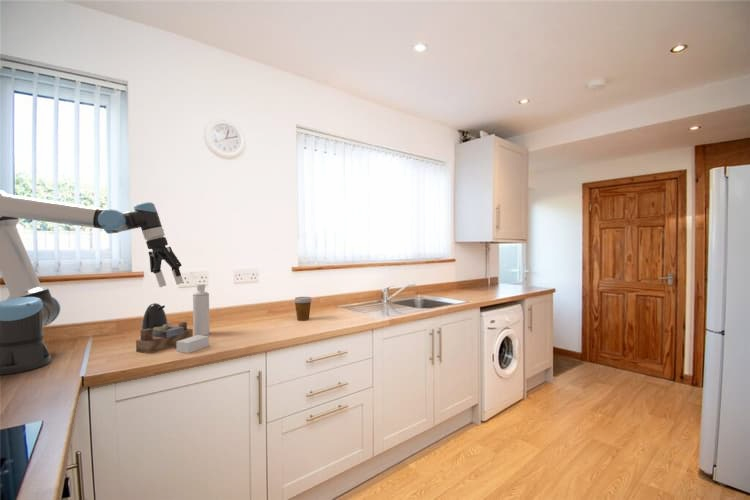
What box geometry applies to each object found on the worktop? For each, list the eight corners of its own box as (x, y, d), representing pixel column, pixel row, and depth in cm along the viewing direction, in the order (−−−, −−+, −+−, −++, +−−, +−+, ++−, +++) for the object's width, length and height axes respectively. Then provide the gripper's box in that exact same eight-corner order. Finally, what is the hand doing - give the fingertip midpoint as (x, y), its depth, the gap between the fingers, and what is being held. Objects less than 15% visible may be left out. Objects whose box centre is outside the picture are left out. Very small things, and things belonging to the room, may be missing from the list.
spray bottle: (191, 334, 158) (190, 280, 158) (206, 331, 163) (205, 279, 163) (196, 336, 154) (195, 281, 153) (212, 333, 159) (211, 280, 158)
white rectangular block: (188, 353, 131) (187, 342, 130) (176, 351, 133) (176, 341, 133) (208, 345, 140) (208, 336, 140) (197, 344, 142) (197, 334, 142)
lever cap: (166, 338, 136) (166, 328, 136) (147, 335, 140) (147, 326, 139) (184, 333, 143) (183, 324, 143) (165, 330, 147) (165, 322, 147)
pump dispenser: (155, 340, 149) (155, 305, 148) (135, 339, 151) (135, 305, 151) (173, 334, 159) (173, 301, 158) (155, 333, 161) (154, 301, 161)
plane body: (148, 353, 131) (148, 331, 131) (136, 351, 133) (135, 329, 133) (192, 339, 150) (192, 320, 149) (181, 337, 152) (180, 319, 152)
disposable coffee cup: (315, 318, 188) (315, 297, 188) (303, 322, 180) (303, 299, 180) (303, 316, 193) (302, 295, 193) (290, 320, 185) (290, 298, 185)
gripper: (180, 232, 143) (195, 279, 146) (149, 241, 156) (164, 284, 159) (162, 235, 137) (179, 285, 140) (131, 244, 149) (147, 290, 152)
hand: (171, 285), depth 149 cm, fingers open, 13 cm apart
